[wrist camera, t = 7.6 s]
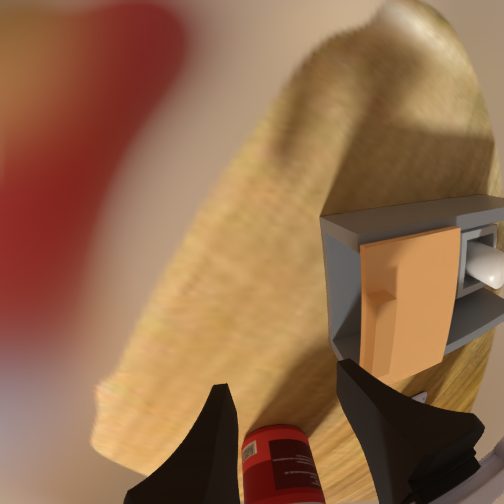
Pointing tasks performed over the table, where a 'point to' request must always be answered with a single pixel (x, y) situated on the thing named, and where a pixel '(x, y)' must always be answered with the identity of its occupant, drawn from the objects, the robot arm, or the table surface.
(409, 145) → the table surface
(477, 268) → the white rounded piece
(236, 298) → the table surface
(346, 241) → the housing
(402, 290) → the lid
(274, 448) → the canned food
